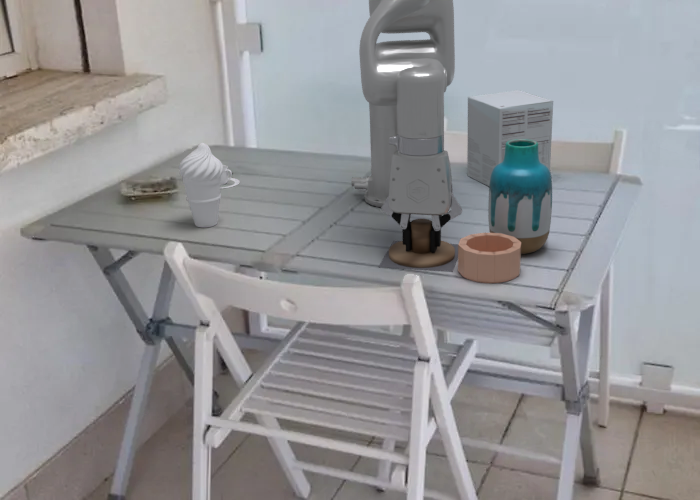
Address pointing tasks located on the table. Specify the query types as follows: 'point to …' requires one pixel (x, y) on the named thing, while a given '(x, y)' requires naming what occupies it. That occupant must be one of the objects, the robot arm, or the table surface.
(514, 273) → the bowl
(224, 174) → the teacup and saucer
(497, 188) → the vase
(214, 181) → the soft serve ice cream cone
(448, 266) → the mat
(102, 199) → the table surface
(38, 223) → the table surface
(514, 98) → the supplement box
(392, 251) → the lid
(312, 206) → the table surface
